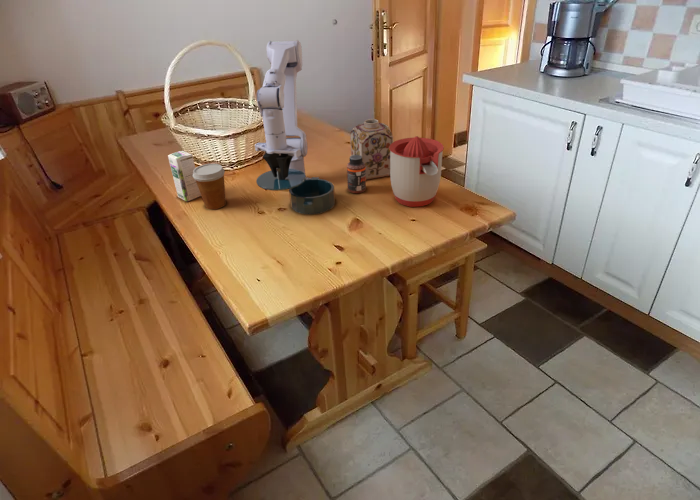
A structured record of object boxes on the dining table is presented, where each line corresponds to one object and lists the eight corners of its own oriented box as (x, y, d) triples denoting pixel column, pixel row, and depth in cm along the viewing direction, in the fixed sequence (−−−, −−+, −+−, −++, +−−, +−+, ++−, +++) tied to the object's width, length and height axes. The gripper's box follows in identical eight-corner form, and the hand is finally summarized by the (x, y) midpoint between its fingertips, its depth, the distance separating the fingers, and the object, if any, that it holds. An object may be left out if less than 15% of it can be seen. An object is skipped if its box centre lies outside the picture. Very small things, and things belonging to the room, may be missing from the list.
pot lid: (251, 192, 134) (249, 177, 132) (262, 172, 146) (260, 157, 144) (302, 192, 133) (301, 176, 131) (309, 171, 145) (307, 156, 143)
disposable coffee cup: (193, 209, 146) (184, 173, 140) (212, 196, 154) (204, 161, 147) (219, 213, 143) (211, 177, 137) (236, 200, 151) (230, 164, 144)
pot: (285, 219, 139) (283, 202, 136) (296, 190, 155) (294, 175, 152) (331, 218, 138) (330, 202, 135) (337, 190, 154) (336, 174, 151)
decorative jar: (381, 163, 171) (381, 113, 161) (394, 175, 161) (394, 123, 152) (350, 168, 168) (348, 118, 158) (361, 181, 158) (359, 128, 149)
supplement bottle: (364, 194, 150) (363, 161, 144) (346, 193, 151) (344, 160, 145) (367, 186, 155) (366, 153, 149) (349, 185, 156) (348, 153, 150)
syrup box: (177, 197, 154) (166, 155, 146) (193, 191, 158) (183, 149, 150) (186, 202, 151) (175, 159, 143) (202, 195, 154) (192, 153, 147)
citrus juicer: (407, 218, 136) (409, 152, 125) (380, 194, 149) (379, 133, 139) (453, 206, 141) (459, 141, 130) (423, 184, 154) (426, 124, 144)
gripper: (245, 132, 132) (252, 177, 139) (288, 139, 126) (293, 186, 133) (260, 125, 137) (267, 169, 144) (302, 131, 131) (307, 176, 138)
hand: (280, 176), depth 139 cm, fingers closed on pot lid, 2 cm apart
